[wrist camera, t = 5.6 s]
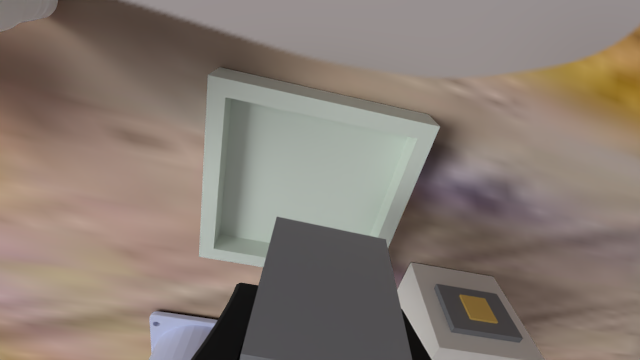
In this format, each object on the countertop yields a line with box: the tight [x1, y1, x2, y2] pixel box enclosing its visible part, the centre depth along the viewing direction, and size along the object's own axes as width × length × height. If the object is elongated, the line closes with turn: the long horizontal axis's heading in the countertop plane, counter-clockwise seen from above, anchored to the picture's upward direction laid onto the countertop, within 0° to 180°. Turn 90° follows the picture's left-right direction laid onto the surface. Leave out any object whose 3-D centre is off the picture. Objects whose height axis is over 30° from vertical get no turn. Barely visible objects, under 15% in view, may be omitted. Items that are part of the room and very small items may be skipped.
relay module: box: [240, 217, 412, 360], centre depth 10 cm, size 4×4×5 cm
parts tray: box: [199, 67, 440, 267], centre depth 18 cm, size 11×11×2 cm
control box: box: [397, 262, 545, 360], centre depth 21 cm, size 10×6×6 cm
